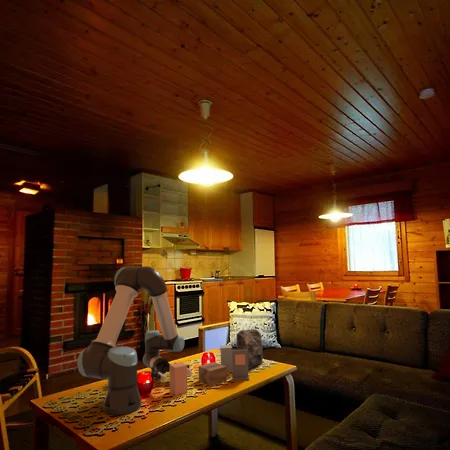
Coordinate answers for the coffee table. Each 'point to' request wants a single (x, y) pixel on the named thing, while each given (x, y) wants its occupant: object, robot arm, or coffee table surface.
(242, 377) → the charcoal sign
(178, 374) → the terracotta block
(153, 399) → the coffee table surface
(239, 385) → the coffee table surface
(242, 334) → the stone block
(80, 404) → the coffee table surface
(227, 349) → the slate-grey block
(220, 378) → the walnut block
